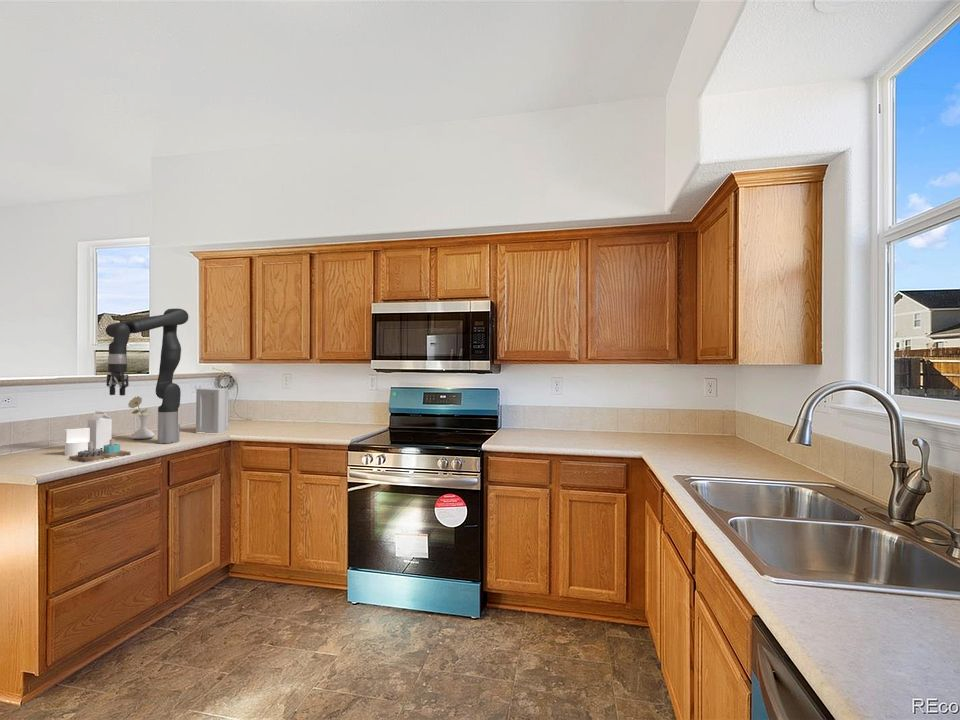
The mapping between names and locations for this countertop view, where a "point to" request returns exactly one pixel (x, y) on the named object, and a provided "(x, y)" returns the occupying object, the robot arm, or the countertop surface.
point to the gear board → (96, 453)
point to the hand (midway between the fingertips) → (117, 395)
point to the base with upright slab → (76, 440)
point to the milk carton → (100, 429)
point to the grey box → (212, 410)
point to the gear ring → (111, 449)
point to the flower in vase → (143, 431)
